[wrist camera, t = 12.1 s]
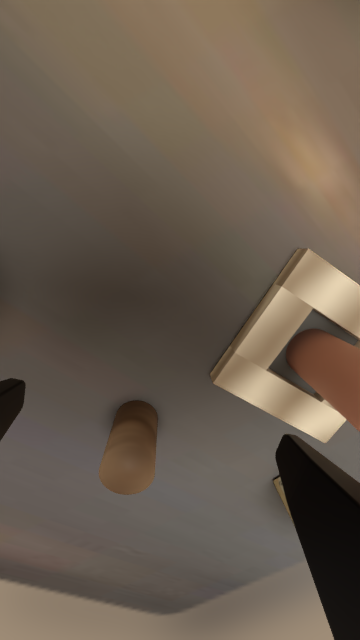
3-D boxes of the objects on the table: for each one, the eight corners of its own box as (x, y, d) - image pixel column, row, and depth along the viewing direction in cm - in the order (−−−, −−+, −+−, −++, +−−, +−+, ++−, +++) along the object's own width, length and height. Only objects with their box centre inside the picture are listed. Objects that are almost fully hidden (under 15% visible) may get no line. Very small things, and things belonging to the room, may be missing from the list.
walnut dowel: (108, 425, 24) (89, 482, 18) (128, 393, 23) (114, 442, 17) (144, 442, 24) (138, 501, 19) (165, 411, 24) (164, 464, 18)
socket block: (209, 374, 23) (213, 383, 21) (297, 248, 20) (308, 248, 18) (315, 431, 25) (325, 443, 24) (407, 326, 22) (424, 332, 21)
